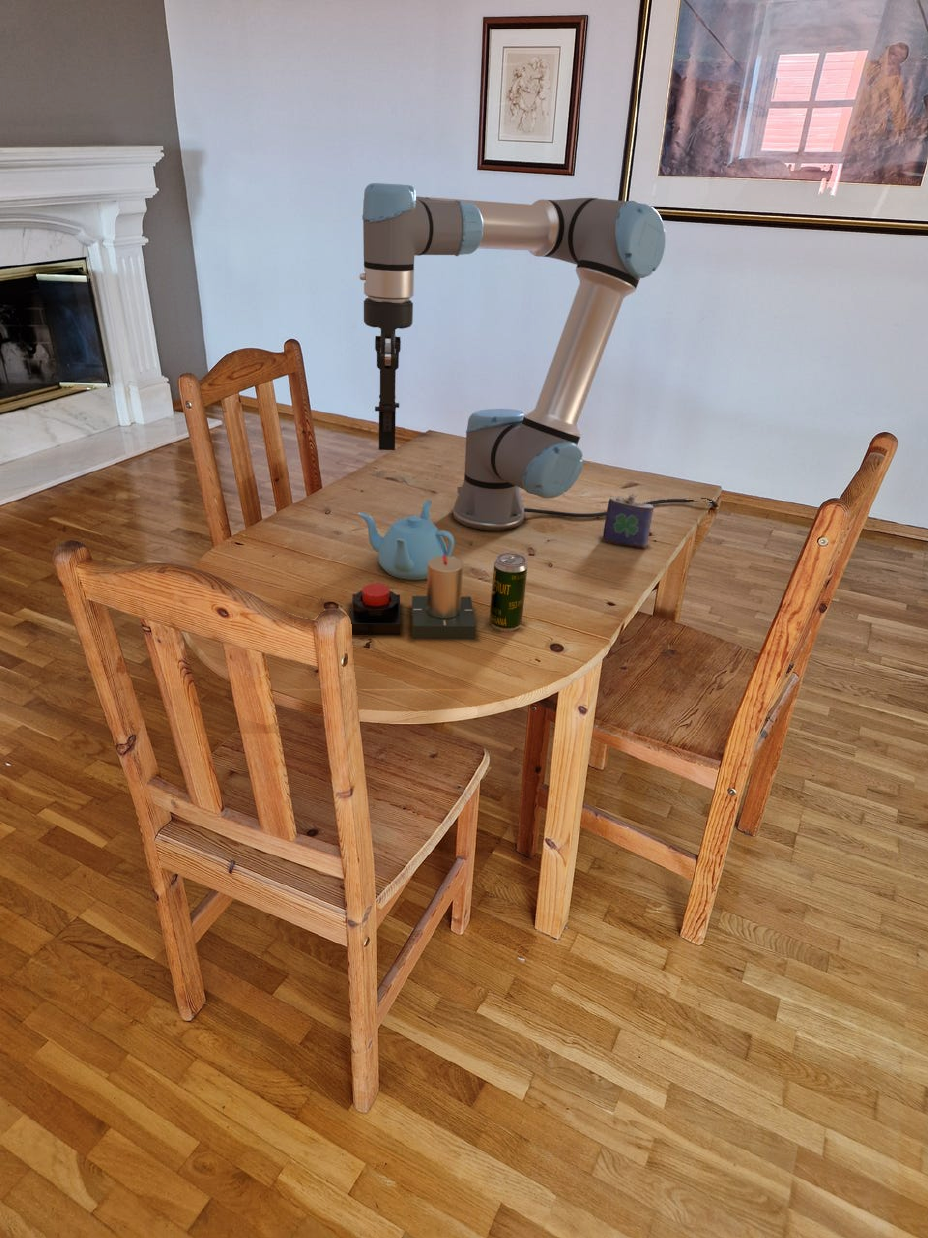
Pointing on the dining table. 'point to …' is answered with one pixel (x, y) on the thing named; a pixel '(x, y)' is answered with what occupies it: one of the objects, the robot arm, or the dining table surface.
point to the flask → (628, 522)
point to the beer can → (508, 591)
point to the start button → (375, 594)
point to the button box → (375, 616)
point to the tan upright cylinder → (444, 587)
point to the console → (442, 622)
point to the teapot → (409, 544)
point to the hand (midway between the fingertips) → (386, 448)
